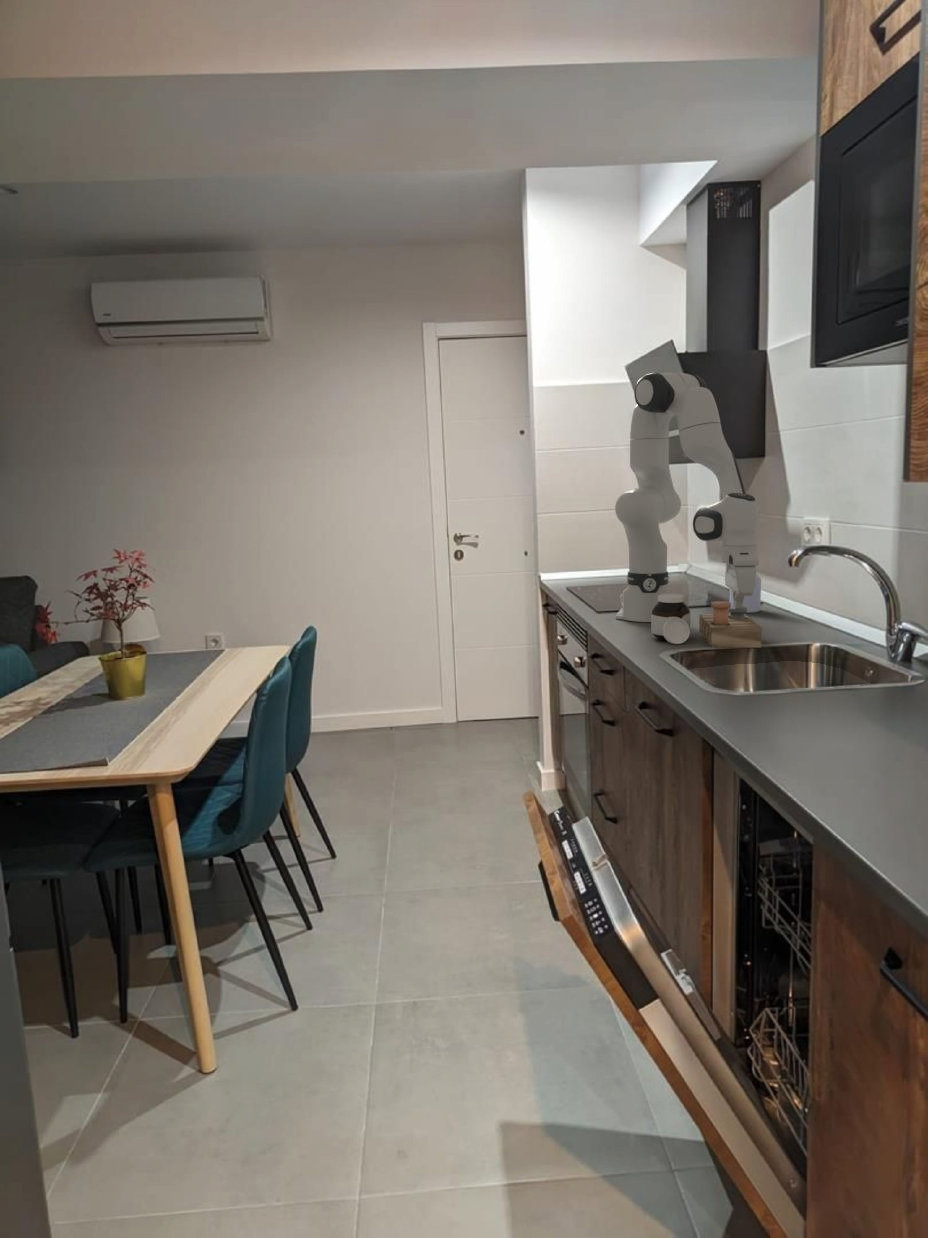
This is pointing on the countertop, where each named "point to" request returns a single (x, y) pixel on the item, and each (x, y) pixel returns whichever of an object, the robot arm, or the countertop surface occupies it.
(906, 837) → the countertop surface
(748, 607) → the soap bottle
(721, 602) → the terracotta plug
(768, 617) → the countertop surface
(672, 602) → the spread jar
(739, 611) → the grey plug
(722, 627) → the oak block
